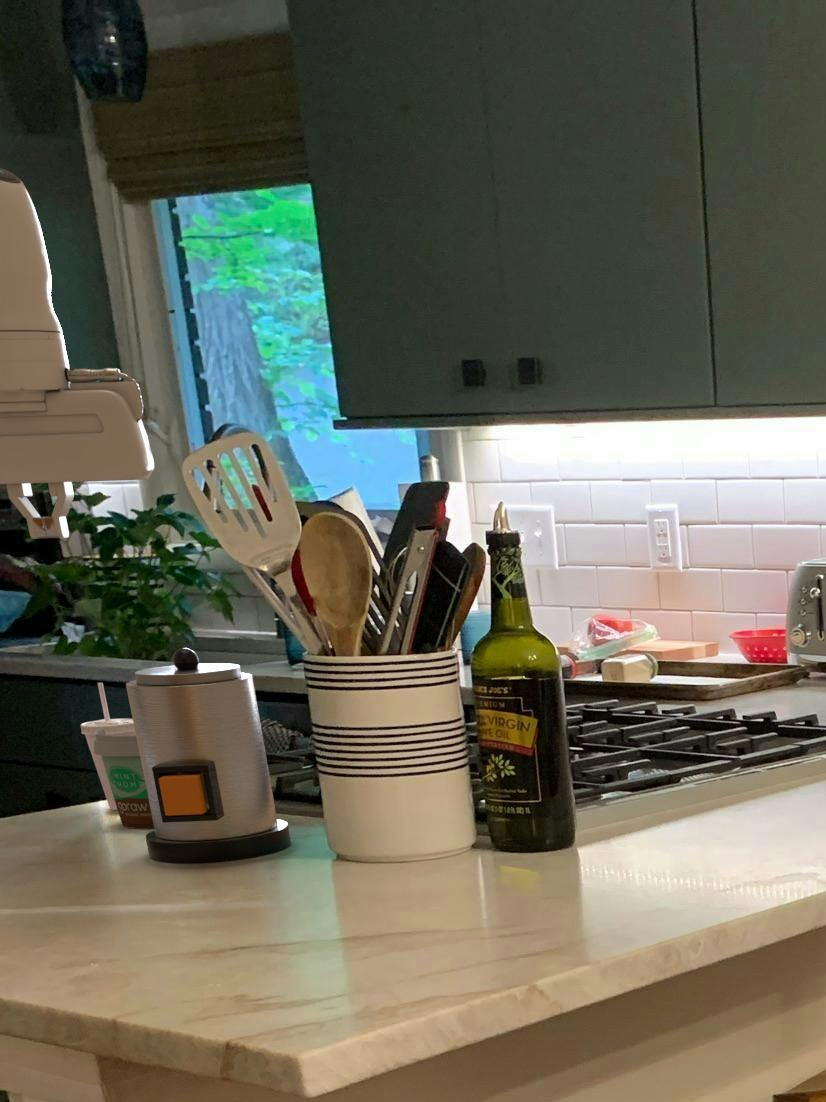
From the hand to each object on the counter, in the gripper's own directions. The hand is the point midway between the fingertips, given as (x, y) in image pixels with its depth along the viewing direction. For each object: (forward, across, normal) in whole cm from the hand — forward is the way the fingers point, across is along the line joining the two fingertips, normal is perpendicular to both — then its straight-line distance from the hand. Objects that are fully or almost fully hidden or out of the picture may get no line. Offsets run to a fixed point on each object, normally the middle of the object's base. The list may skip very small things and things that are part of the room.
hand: (50, 538), depth 176 cm
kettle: (+31, -6, -13) cm, 34 cm away
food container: (+31, +6, -29) cm, 43 cm away
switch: (+26, -6, -5) cm, 27 cm away
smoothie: (+31, +13, -42) cm, 54 cm away
